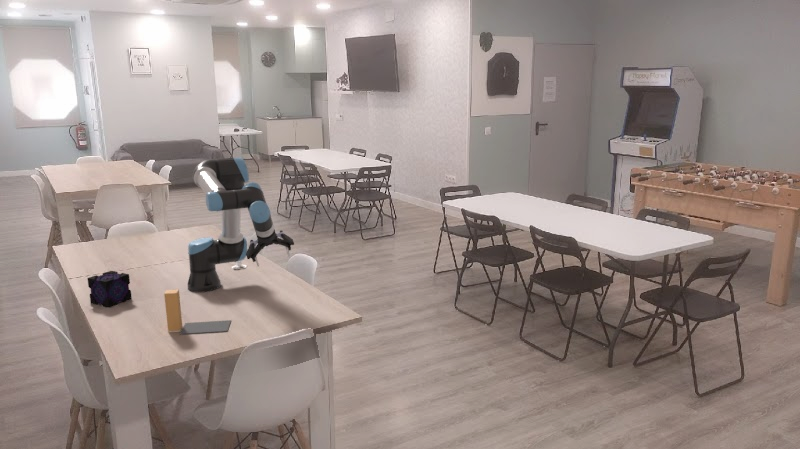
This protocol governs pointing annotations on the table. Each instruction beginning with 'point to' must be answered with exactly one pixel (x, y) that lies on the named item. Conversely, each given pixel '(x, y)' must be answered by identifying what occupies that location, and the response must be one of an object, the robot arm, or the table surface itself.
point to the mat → (205, 327)
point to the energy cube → (109, 288)
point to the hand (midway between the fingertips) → (273, 259)
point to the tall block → (173, 310)
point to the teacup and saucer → (238, 265)
